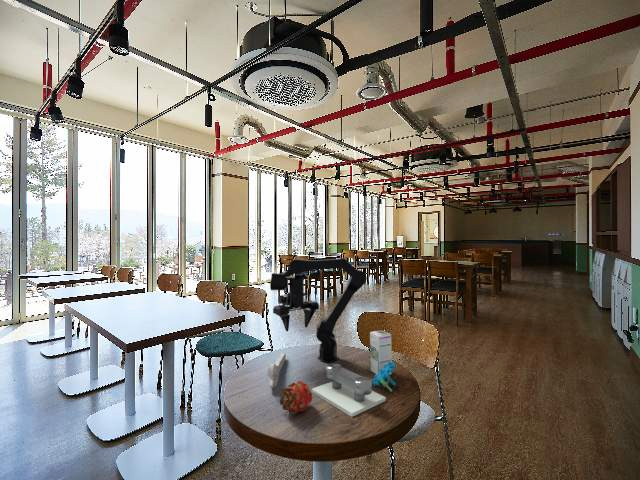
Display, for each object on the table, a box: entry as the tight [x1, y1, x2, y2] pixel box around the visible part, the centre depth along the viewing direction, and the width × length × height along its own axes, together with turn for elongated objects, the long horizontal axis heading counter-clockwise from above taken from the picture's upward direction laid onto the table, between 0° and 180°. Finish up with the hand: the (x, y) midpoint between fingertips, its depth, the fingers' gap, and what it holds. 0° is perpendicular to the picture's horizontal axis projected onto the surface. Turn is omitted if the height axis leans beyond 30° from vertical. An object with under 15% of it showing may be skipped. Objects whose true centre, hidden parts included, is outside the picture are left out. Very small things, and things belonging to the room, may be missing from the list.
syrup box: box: [369, 329, 393, 375], centre depth 115 cm, size 6×6×14 cm
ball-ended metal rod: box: [325, 363, 373, 395], centre depth 98 cm, size 5×18×3 cm, turn 39°
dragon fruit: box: [279, 380, 313, 416], centre depth 90 cm, size 8×8×12 cm
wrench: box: [267, 352, 286, 388], centre depth 113 cm, size 8×2×30 cm
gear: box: [372, 360, 396, 393], centre depth 105 cm, size 11×6×10 cm
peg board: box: [311, 379, 387, 418], centre depth 97 cm, size 14×18×4 cm
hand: (296, 329), depth 128 cm, fingers open, 9 cm apart
